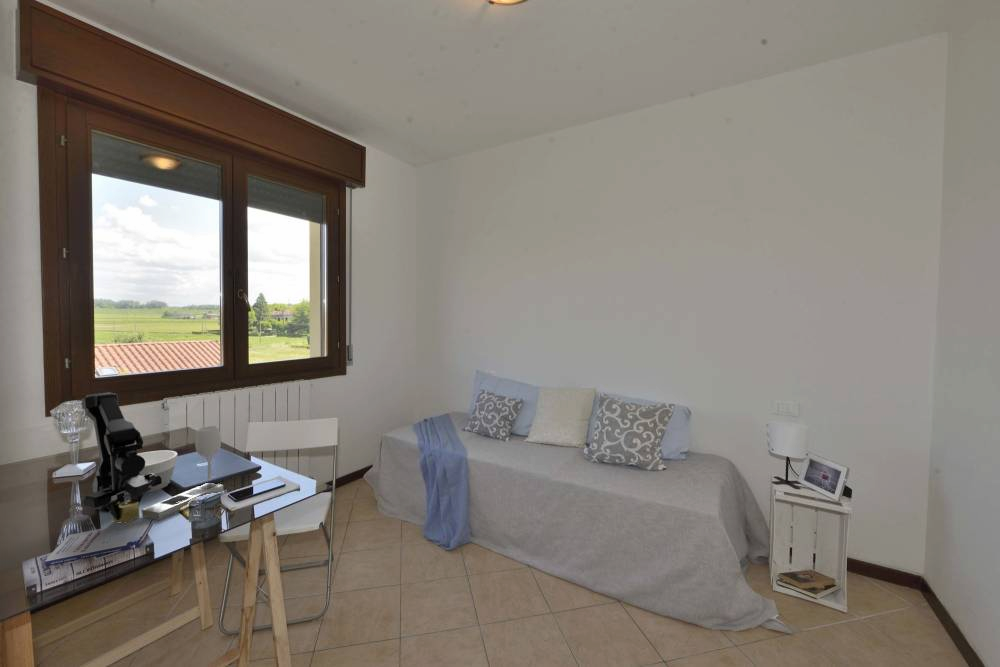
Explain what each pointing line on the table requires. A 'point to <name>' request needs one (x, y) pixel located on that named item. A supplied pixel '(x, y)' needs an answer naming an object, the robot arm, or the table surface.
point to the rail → (168, 507)
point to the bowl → (159, 466)
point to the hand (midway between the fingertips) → (126, 516)
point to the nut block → (128, 511)
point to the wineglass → (208, 443)
